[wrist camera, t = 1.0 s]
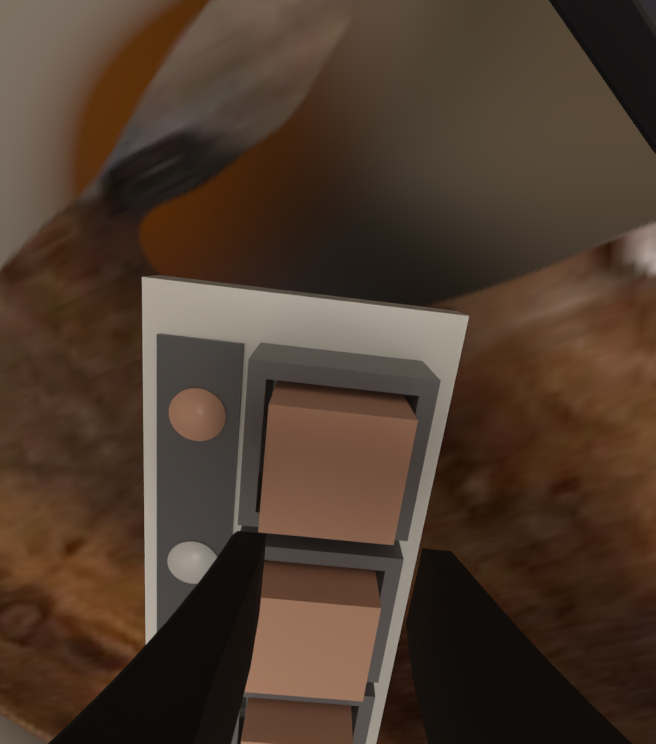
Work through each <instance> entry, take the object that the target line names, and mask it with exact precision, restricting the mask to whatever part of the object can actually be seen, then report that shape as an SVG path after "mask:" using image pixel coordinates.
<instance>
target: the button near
mask: <svg viewBox="0 0 656 744" xmlns="http://www.w3.org/2000/svg"><path fill="white" fill-rule="evenodd" d="M417 423H418V420H417V418H416V416H415V414H414V413H413V411H412V409H411V407H410V406H409V404H408V402H407V400H406V398H405V397H404V395H403V394H396V393H387V392H378V391H369V390H360V389H351V388H342V387H333V386H324V385H315V384H306V383H297V382H288V381H279V380H278V381H277V384H276V386H275V389H274V392H273V394H272V397H271V400H270V402H269V407H268V419H267V431H266V443H265V455H264V467H263V479H262V491H261V503H260V516H259V528H258V532H261V533H271V534H282V535H292V536H303V537H313V538H324V539H334V540H345V541H355V542H366V543H376V544H386V545H394V540H395V535H396V530H397V525H398V520H399V515H400V510H401V505H402V499H403V494H404V489H405V484H406V479H407V474H408V469H409V464H410V459H411V454H412V448H413V443H414V438H415V433H416V428H417Z"/></svg>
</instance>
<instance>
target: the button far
mask: <svg viewBox="0 0 656 744" xmlns="http://www.w3.org/2000/svg"><path fill="white" fill-rule="evenodd" d="M241 744H353V732H352V715H351V705H339V704H326V703H314V702H301V701H288V700H276V699H263V698H250V697H248V703H247V709H246V715H245V720H244V726H243V732H242V738H241Z"/></svg>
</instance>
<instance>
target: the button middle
mask: <svg viewBox="0 0 656 744" xmlns="http://www.w3.org/2000/svg"><path fill="white" fill-rule="evenodd" d="M380 612H381V604H380V598H379V591H378V585H377V579H376V573H375V570H368V569H357V568H347V567H336V566H325V565H314V564H303V563H293V562H282V561H271V560H264V569H263V580H262V592H261V603H260V613H259V619H258V625H257V631H256V637H255V643H254V649H253V655H252V661H251V667H250V671H249V675H248V679H247V683H246V687H245V692H249V693H262V694H275V695H287V696H300V697H312V698H325V699H338V700H350V701H363V699H364V693H365V688H366V683H367V678H368V673H369V668H370V663H371V658H372V653H373V648H374V642H375V637H376V632H377V627H378V622H379V617H380Z"/></svg>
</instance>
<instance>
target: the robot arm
mask: <svg viewBox="0 0 656 744" xmlns="http://www.w3.org/2000/svg"><path fill="white" fill-rule="evenodd" d="M266 536H267V534H264V533H254V532H243V531H237V532H235V533H234V534H233V535H232V536H231V537H230V539H229V540H228V542H227V544H226V545H225V547H224V548H223V550H222V551H221V553H220V554H219V555H218V557H217V558H216V560H215V561H214V563H213V564H212V565H211V567H210V568H209V569H208V571H207V572H206V573H205V575H204V576H203V577H202V579H201V580H200V581H199V583H198V584H197V585H196V586H195V588H194V589H193V590H192V591H191V592H190V594H189V595H188V596H187V597H186V599H185V600H184V601H183V602H182V604H181V605H180V606H179V607H178V609H177V610H176V611H175V612H174V613H173V615H172V616H171V617H170V618H169V619H168V621H167V622H166V623H165V624H164V625H163V626H162V627H161V628H160V630H159V631H158V632H157V633H156V634H155V635H154V636H153V637H152V638H151V640H150V641H149V642H148V643H147V644H146V645H145V646H144V647H143V649H142V650H141V651H140V652H139V653H138V654H137V655H136V656H135V657H134V659H133V660H132V661H131V662H130V663H129V664H128V665H127V666H126V667H125V668H124V669H123V670H122V671H121V672H120V673H119V675H118V676H117V677H116V678H115V679H114V680H113V681H112V682H111V683H110V684H109V685H108V686H107V687H106V688H105V689H104V690H103V691H102V692H101V693H100V694H99V695H98V696H97V697H96V698H95V699H94V700H93V701H92V702H91V703H90V704H89V705H88V706H87V707H86V708H85V709H84V710H83V711H82V712H81V713H80V714H79V715H78V716H77V717H76V718H75V719H74V720H73V721H72V722H71V723H70V724H69V725H68V726H66V727H65V728H64V729H63V730H62V731H61V732H60V733H59V734H58V735H57V736H56V737H55V738H54V739H53V740H51V741H50V742H49V743H48V744H231V742H232V739H233V735H234V731H235V727H236V723H237V719H238V715H239V711H240V707H241V703H242V699H243V695H244V691H245V687H246V683H247V679H248V675H249V671H250V667H251V661H252V655H253V649H254V643H255V637H256V631H257V625H258V619H259V613H260V603H261V592H262V580H263V569H264V558H265V547H266ZM406 629H407V637H408V645H409V653H410V660H411V667H412V674H413V681H414V685H415V689H416V694H417V698H418V702H419V706H420V711H421V715H422V719H423V723H424V728H425V732H426V736H427V740H428V744H632V743H631V742H630V741H629V740H628V739H627V738H626V737H624V736H623V735H622V734H621V733H620V732H619V731H618V730H617V729H616V728H615V727H614V726H613V725H612V724H611V723H610V722H609V721H608V720H607V719H606V718H604V717H603V716H602V715H601V714H600V713H599V712H598V711H597V710H596V709H595V708H594V707H593V706H592V705H591V704H590V703H589V702H588V701H587V700H586V699H585V698H584V697H583V696H582V695H581V694H580V693H579V692H578V691H577V690H576V689H575V688H574V687H573V686H572V685H571V684H570V682H569V681H568V680H567V679H566V678H565V677H564V676H563V675H562V674H561V673H560V672H559V671H558V670H557V669H556V668H555V667H554V666H553V665H552V664H551V663H550V662H549V661H548V660H547V659H546V658H545V657H544V656H543V654H542V653H541V652H540V651H539V650H538V649H537V648H536V647H535V646H534V645H533V644H532V643H531V642H530V640H529V639H528V638H527V637H526V636H525V635H524V634H523V633H522V632H521V631H520V629H519V628H518V627H517V626H516V625H515V624H514V623H513V622H512V621H511V619H510V618H509V617H508V616H507V615H506V614H505V613H504V612H503V610H502V609H501V608H500V607H499V606H498V605H497V604H496V602H495V601H494V600H493V599H492V598H491V597H490V596H489V594H488V593H487V592H486V591H485V590H484V589H483V587H482V586H481V585H480V584H479V583H478V582H477V580H476V579H475V578H474V577H473V576H472V575H471V574H470V572H469V571H468V570H467V569H466V568H465V567H464V565H463V564H462V563H461V562H460V561H459V560H458V559H457V557H456V556H455V555H454V554H453V553H452V552H451V551H443V550H432V549H422V554H421V558H420V563H419V567H418V572H417V576H416V581H415V585H414V590H413V594H412V599H411V603H410V608H409V612H408V617H407V622H406Z"/></svg>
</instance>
